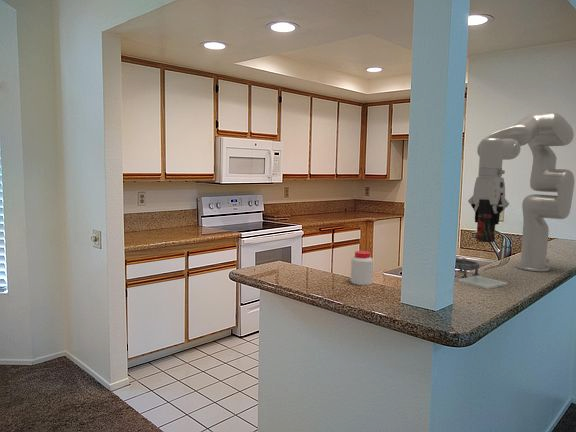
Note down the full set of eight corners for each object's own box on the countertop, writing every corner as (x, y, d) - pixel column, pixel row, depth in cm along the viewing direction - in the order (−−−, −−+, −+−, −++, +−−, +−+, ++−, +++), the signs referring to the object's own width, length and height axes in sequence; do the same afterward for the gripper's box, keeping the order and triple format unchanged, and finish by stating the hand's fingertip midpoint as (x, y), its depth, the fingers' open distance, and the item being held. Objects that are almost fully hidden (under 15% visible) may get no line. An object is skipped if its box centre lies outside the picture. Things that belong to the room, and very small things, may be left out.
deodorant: (496, 242, 156) (499, 200, 155) (478, 241, 158) (481, 199, 156) (491, 240, 162) (494, 199, 160) (474, 239, 163) (477, 198, 162)
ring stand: (459, 270, 182) (460, 258, 181) (483, 276, 173) (484, 263, 172) (442, 273, 176) (443, 260, 175) (466, 279, 167) (466, 266, 166)
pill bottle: (359, 278, 165) (360, 249, 164) (376, 282, 160) (377, 252, 158) (346, 281, 160) (347, 252, 158) (363, 286, 154) (365, 255, 153)
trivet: (477, 277, 170) (478, 275, 170) (507, 284, 160) (507, 282, 160) (457, 281, 163) (458, 279, 163) (487, 289, 153) (487, 286, 153)
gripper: (519, 173, 152) (515, 225, 154) (475, 173, 166) (472, 220, 168) (506, 173, 148) (502, 226, 150) (462, 172, 163) (459, 221, 164)
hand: (486, 222), depth 159 cm, fingers closed on deodorant, 6 cm apart
